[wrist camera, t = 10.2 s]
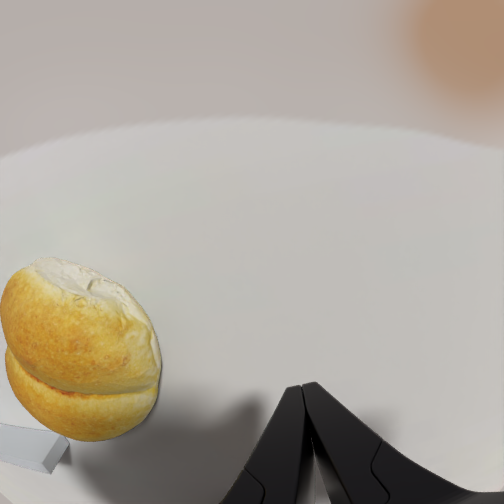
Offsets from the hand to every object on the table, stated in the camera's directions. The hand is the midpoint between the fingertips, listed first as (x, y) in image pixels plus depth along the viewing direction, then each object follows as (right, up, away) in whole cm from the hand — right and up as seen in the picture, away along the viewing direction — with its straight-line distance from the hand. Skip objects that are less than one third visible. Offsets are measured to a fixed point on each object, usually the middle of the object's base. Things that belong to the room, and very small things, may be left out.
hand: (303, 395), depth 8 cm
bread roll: (-10, 0, +5) cm, 11 cm away
